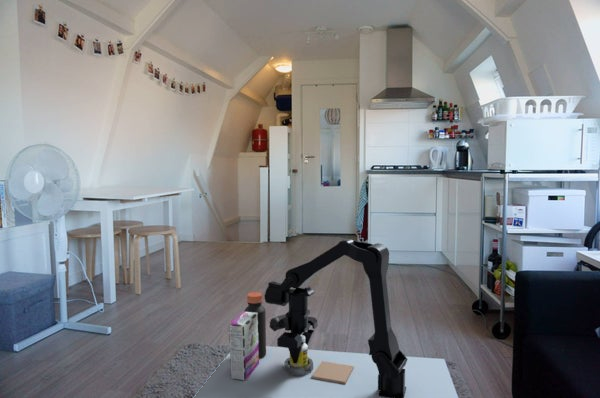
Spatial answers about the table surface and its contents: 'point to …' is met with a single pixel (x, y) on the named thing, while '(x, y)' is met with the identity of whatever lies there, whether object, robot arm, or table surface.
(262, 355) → the vinegar
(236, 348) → the candy bar box
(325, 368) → the mat
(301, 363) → the supplement bottle
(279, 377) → the table surface
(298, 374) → the collar
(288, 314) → the robot arm
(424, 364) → the table surface
